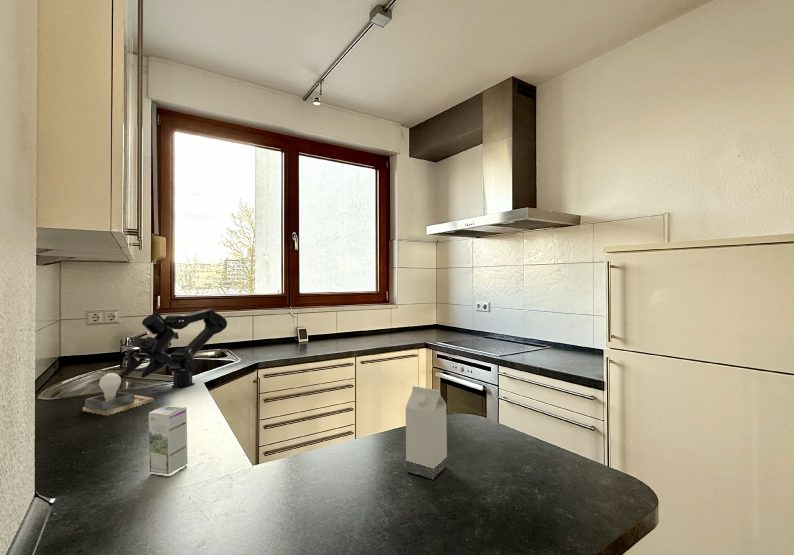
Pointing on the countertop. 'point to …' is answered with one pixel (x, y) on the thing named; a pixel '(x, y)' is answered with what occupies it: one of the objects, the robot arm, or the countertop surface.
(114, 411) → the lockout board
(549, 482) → the countertop surface
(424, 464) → the milk carton
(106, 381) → the lightbulb
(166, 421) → the syrup box
